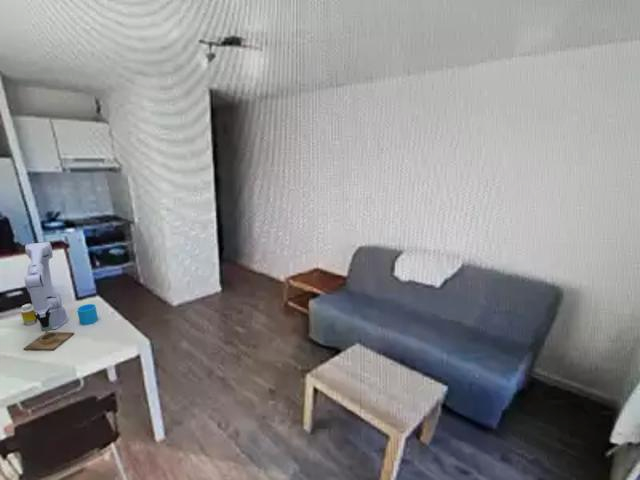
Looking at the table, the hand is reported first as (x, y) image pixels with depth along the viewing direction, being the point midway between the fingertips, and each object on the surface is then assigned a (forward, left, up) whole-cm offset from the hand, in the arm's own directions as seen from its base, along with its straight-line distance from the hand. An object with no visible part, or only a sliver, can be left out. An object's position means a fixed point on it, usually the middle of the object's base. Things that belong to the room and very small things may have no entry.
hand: (45, 324), depth 167 cm
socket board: (0, 0, -9) cm, 9 cm away
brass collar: (0, 0, -9) cm, 9 cm away
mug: (-21, +5, -10) cm, 24 cm away
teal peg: (0, 0, -2) cm, 2 cm away
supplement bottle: (-17, -23, -10) cm, 30 cm away
